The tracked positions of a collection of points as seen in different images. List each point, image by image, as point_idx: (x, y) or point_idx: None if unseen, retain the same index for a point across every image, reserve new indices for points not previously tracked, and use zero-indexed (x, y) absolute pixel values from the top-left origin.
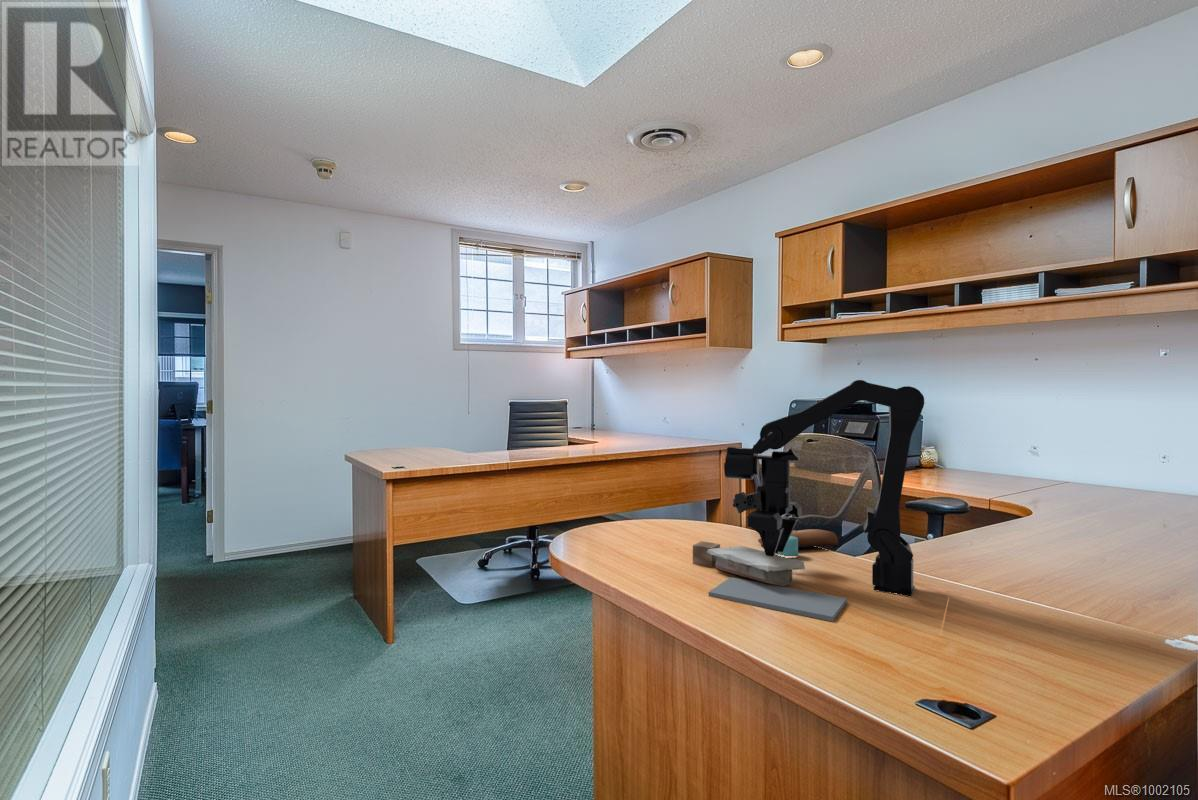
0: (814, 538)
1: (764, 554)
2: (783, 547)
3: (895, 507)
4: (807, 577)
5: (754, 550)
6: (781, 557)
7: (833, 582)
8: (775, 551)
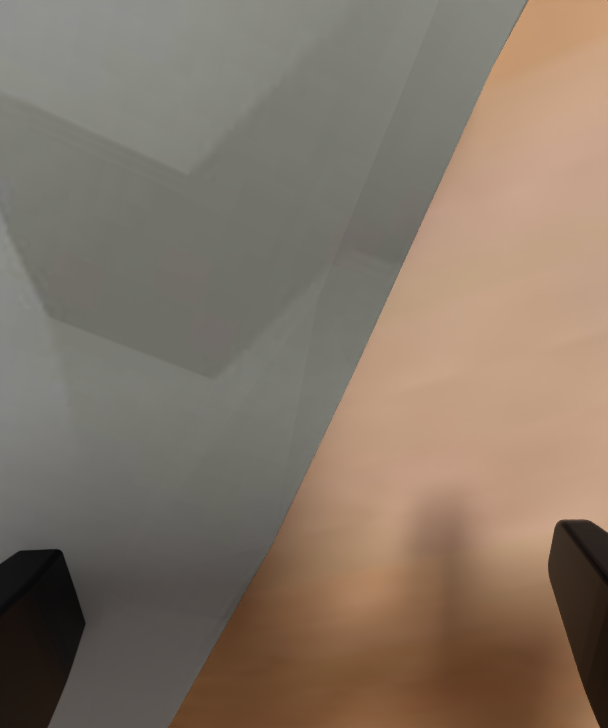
0: None
1: (51, 521)
2: (577, 646)
3: None
4: (411, 603)
5: (226, 283)
6: (63, 708)
7: (392, 722)
8: (49, 709)
